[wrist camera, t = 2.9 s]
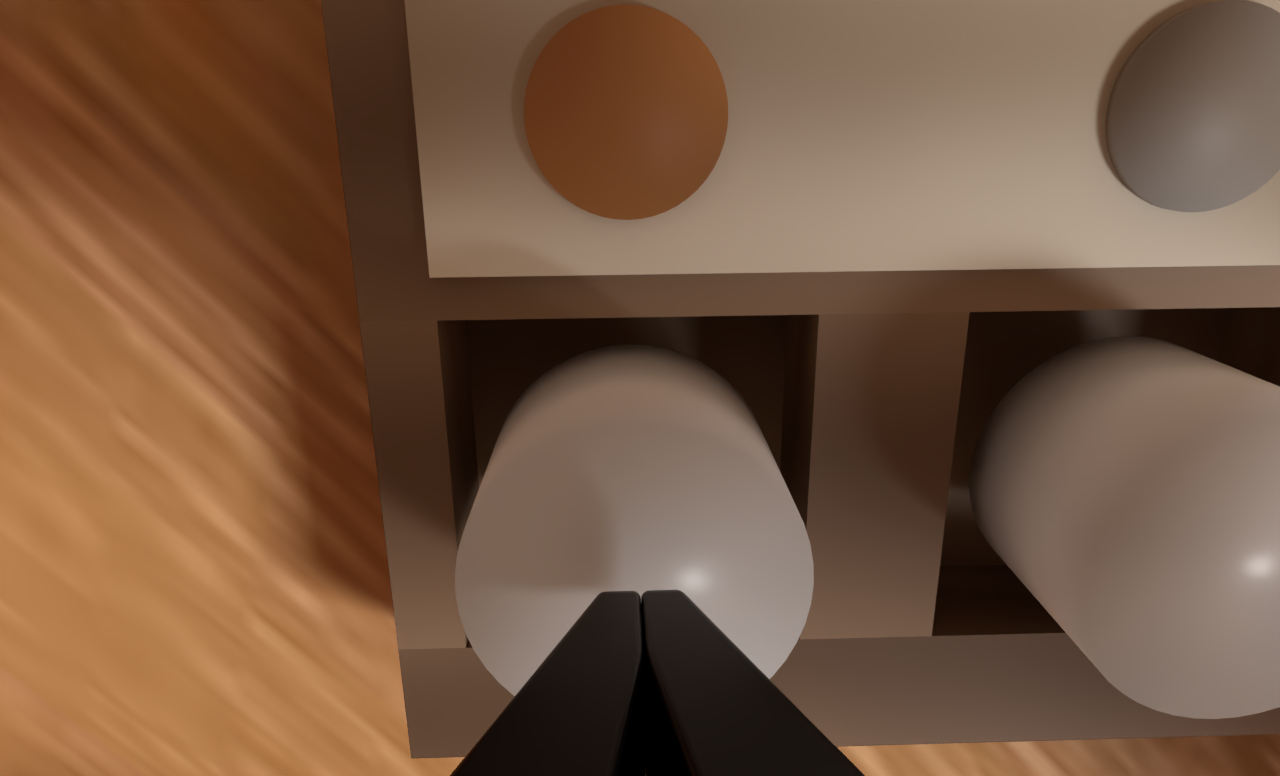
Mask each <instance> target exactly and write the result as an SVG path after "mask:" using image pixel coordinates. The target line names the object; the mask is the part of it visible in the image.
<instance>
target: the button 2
mask: <svg viewBox="0 0 1280 776" xmlns="http://www.w3.org/2000/svg"><path fill="white" fill-rule="evenodd" d="M813 586H814V563H813V557H812V551H811V545H810V541H809V538H808V534H807V531H806V528H805V525H804V522H803V520H802V518H801V516H800V514H799V511H798V509H797V507H796V505H795V503H794V501H793V498H792V496H791V494H790V492H789V490H788V488H787V485H786V483H785V481H784V479H783V477H782V475H781V472H780V470H779V468H778V466H777V464H776V462H775V459H774V457H773V455H772V453H771V451H770V449H769V446H768V444H767V442H766V440H765V438H764V436H763V433H762V431H761V429H760V427H759V425H758V423H757V421H756V419H755V417H754V415H753V413H752V410H751V409H750V407H749V406H748V405H747V403H746V402H745V400H744V399H743V397H742V396H741V395H740V394H739V392H738V391H737V390H736V389H735V388H734V387H733V386H732V385H731V384H730V383H729V382H728V381H727V380H726V379H725V378H723V377H722V376H721V375H720V374H719V373H717V372H716V371H715V370H713V369H711V368H710V367H708V366H707V365H705V364H704V363H702V362H700V361H698V360H696V359H694V358H692V357H689V356H687V355H685V354H682V353H679V352H676V351H673V350H669V349H666V348H660V347H655V346H649V345H631V344H628V345H615V346H607V347H603V348H598V349H593V350H590V351H587V352H584V353H581V354H578V355H575V356H573V357H571V358H569V359H567V360H565V361H563V362H561V363H559V364H557V365H556V366H554V367H553V368H551V369H550V370H548V371H547V372H545V373H544V374H542V375H541V376H540V377H539V378H538V379H537V380H535V381H534V382H533V383H532V384H531V385H530V386H529V387H528V388H527V389H526V390H525V391H524V393H523V394H522V395H521V396H520V397H519V398H518V400H517V401H516V403H515V404H514V406H513V407H512V409H511V410H510V412H509V414H508V415H507V417H506V420H505V422H504V424H503V426H502V428H501V431H500V433H499V436H498V439H497V441H496V444H495V447H494V450H493V452H492V455H491V458H490V460H489V463H488V466H487V469H486V471H485V474H484V477H483V479H482V482H481V485H480V488H479V490H478V493H477V496H476V498H475V501H474V504H473V507H472V509H471V512H470V515H469V517H468V520H467V523H466V526H465V528H464V531H463V535H462V538H461V541H460V545H459V548H458V553H457V560H456V568H455V594H456V600H457V606H458V612H459V615H460V618H461V621H462V625H463V628H464V631H465V633H466V635H467V637H468V639H469V641H470V643H471V645H472V648H473V650H474V651H475V653H476V654H477V656H478V657H479V659H480V660H481V662H482V663H483V665H484V666H485V668H486V669H487V670H488V671H489V672H490V673H491V674H492V675H493V677H494V678H495V679H496V680H497V681H498V682H499V683H500V684H501V685H502V686H503V687H504V688H505V689H507V690H508V691H509V692H510V693H511V694H512V695H514V696H516V694H517V693H518V692H519V691H520V689H521V688H522V687H523V686H524V685H525V683H526V682H527V681H528V680H529V678H530V677H531V676H532V675H533V674H534V672H535V671H536V670H537V669H538V667H539V666H540V665H541V664H542V663H543V661H544V660H545V659H546V658H547V656H548V655H549V654H550V653H551V652H552V650H553V649H554V648H555V647H556V645H557V644H558V643H559V642H560V641H561V639H562V638H563V637H564V636H565V634H566V633H567V632H568V631H569V630H570V628H571V627H572V626H573V625H574V623H575V622H576V621H577V620H578V619H579V617H580V616H581V615H582V614H583V612H584V611H585V610H586V609H587V608H588V606H589V605H590V604H591V603H592V601H593V600H594V599H595V598H596V597H597V595H598V594H600V593H601V592H604V591H636V592H637V593H639V595H640V597H641V596H642V594H643V593H644V592H646V591H648V590H680V591H682V592H684V593H685V594H686V595H687V596H688V597H689V598H690V599H691V600H692V601H693V602H694V603H695V604H696V605H697V606H698V607H699V608H700V609H701V611H702V612H703V613H704V614H705V615H706V616H707V617H708V618H709V619H710V620H711V621H712V622H713V623H714V624H715V625H716V626H717V627H718V628H719V629H720V630H721V631H722V632H723V633H724V634H725V635H726V636H727V637H728V638H729V639H730V640H731V641H732V642H733V643H734V644H735V645H736V646H737V647H738V648H739V649H740V650H741V651H742V652H743V653H744V654H745V655H746V656H747V657H748V658H749V659H750V660H751V661H752V662H753V663H754V664H755V665H756V666H757V667H758V668H759V669H760V670H761V671H762V672H763V673H764V674H765V675H766V676H767V677H768V678H769V679H770V678H771V677H772V676H773V675H774V674H775V673H776V672H777V670H778V669H779V668H780V667H781V666H782V664H783V663H784V662H785V661H786V659H787V658H788V656H789V654H790V653H791V651H792V650H793V648H794V646H795V645H796V643H797V641H798V639H799V637H800V635H801V632H802V630H803V628H804V626H805V623H806V620H807V616H808V613H809V609H810V606H811V600H812V593H813Z"/></svg>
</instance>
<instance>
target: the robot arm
mask: <svg viewBox="0 0 1280 776" xmlns="http://www.w3.org/2000/svg"><path fill="white" fill-rule="evenodd" d="M450 776H864V774H863V773H862V772H861V771H860V770H859V769H858V768H857V767H856V766H855V765H854V764H853V763H852V762H851V761H850V760H849V759H848V758H847V757H846V756H845V755H844V754H843V753H842V752H841V751H840V750H839V749H838V748H837V747H836V746H835V745H834V744H833V743H832V742H831V741H830V740H829V739H828V738H827V737H826V736H825V735H824V734H823V733H822V732H821V731H820V730H819V729H818V728H817V727H816V726H815V725H814V724H813V723H812V722H811V721H810V720H809V719H808V718H807V717H806V716H805V715H804V714H803V713H802V712H801V711H800V710H799V709H798V708H797V707H796V706H795V705H794V704H793V703H792V702H791V701H790V700H789V699H788V698H787V697H786V696H785V695H784V693H783V692H782V691H781V690H780V689H779V688H778V687H777V686H776V685H775V684H774V683H773V682H772V681H771V680H770V679H769V678H768V677H767V676H766V675H765V674H764V673H763V672H762V671H761V670H760V669H759V668H758V667H757V666H756V665H755V664H754V663H753V662H752V661H751V660H750V659H749V658H748V657H747V656H746V655H745V654H744V653H743V652H742V651H741V650H740V649H739V648H738V647H737V646H736V645H735V644H734V643H733V642H732V641H731V640H730V639H729V638H728V637H727V636H726V635H725V634H724V633H723V632H722V631H721V630H720V629H719V628H718V627H717V626H716V625H715V624H714V623H713V622H712V621H711V620H710V619H709V618H708V617H707V616H706V615H705V614H704V613H703V612H702V611H701V609H700V608H699V607H698V606H697V605H696V604H695V603H694V602H693V601H692V600H691V599H690V598H689V597H688V596H687V595H686V594H685V593H684V592H682V591H680V590H648V591H646V592H644V593H643V594H642V596H641V597H640V595H639V593H637V592H636V591H604V592H601V593H600V594H598V595H597V597H596V598H595V599H594V600H593V601H592V603H591V604H590V605H589V606H588V608H587V609H586V610H585V611H584V612H583V614H582V615H581V616H580V617H579V619H578V620H577V621H576V622H575V623H574V625H573V626H572V627H571V628H570V630H569V631H568V632H567V633H566V634H565V636H564V637H563V638H562V639H561V641H560V642H559V643H558V644H557V645H556V647H555V648H554V649H553V650H552V652H551V653H550V654H549V655H548V656H547V658H546V659H545V660H544V661H543V663H542V664H541V665H540V666H539V667H538V669H537V670H536V671H535V672H534V674H533V675H532V676H531V677H530V678H529V680H528V681H527V682H526V683H525V685H524V686H523V687H522V688H521V689H520V691H519V692H518V693H517V694H516V696H515V697H514V698H513V699H512V700H511V702H510V703H509V704H508V705H507V707H506V708H505V709H504V710H503V711H502V713H501V714H500V715H499V716H498V718H497V719H496V720H495V721H494V722H493V724H492V725H491V726H490V727H489V728H488V730H487V731H486V732H485V733H484V735H483V736H482V737H481V738H480V739H479V741H478V742H477V743H476V744H475V746H474V747H473V748H472V749H471V750H470V752H469V753H468V754H467V755H466V757H465V758H464V759H463V760H462V761H461V763H460V764H459V765H458V766H457V768H456V769H455V770H454V771H453V772H452V774H451V775H450Z"/></svg>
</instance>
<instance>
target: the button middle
mask: <svg viewBox="0 0 1280 776" xmlns="http://www.w3.org/2000/svg"><path fill="white" fill-rule="evenodd" d="M969 489H970V500H971V505H972V509H973V513H974V517H975V519H976V522H977V524H978V527H979V529H980V531H981V533H982V534H983V536H984V538H985V539H986V541H987V542H988V544H989V545H990V546H991V547H992V548H993V550H994V551H995V552H996V553H997V554H998V555H999V557H1000V558H1001V559H1002V560H1003V561H1004V562H1005V563H1006V565H1007V566H1008V567H1009V568H1010V569H1011V570H1012V571H1013V573H1014V574H1015V575H1016V576H1017V577H1018V578H1019V579H1020V581H1021V582H1022V583H1023V584H1024V585H1025V586H1026V588H1027V589H1028V590H1029V591H1030V592H1031V593H1032V594H1033V596H1034V597H1035V598H1036V599H1037V600H1038V601H1039V602H1040V604H1041V605H1042V606H1043V607H1044V608H1045V609H1046V611H1047V612H1048V613H1049V614H1050V615H1051V616H1052V617H1053V619H1054V620H1055V621H1056V622H1057V623H1058V624H1059V625H1060V627H1061V628H1062V629H1063V630H1064V631H1065V632H1066V633H1067V635H1068V636H1069V637H1070V638H1071V639H1072V640H1073V642H1074V643H1075V644H1076V645H1077V646H1078V647H1079V648H1080V650H1081V651H1082V652H1083V653H1084V654H1085V655H1086V656H1087V658H1088V659H1089V660H1090V661H1091V662H1092V663H1093V665H1094V666H1095V667H1096V668H1097V669H1098V670H1099V671H1100V673H1101V674H1102V675H1103V676H1104V677H1105V678H1106V679H1107V681H1108V682H1109V683H1111V684H1112V685H1113V686H1114V687H1115V688H1117V689H1118V690H1119V691H1120V692H1121V693H1123V694H1124V695H1126V696H1128V697H1129V698H1131V699H1132V700H1134V701H1136V702H1137V703H1139V704H1142V705H1144V706H1147V707H1149V708H1151V709H1154V710H1156V711H1160V712H1163V713H1167V714H1171V715H1174V716H1181V717H1188V718H1195V719H1222V718H1235V717H1241V716H1247V715H1252V714H1257V713H1261V712H1265V711H1268V710H1272V709H1275V708H1279V707H1280V387H1279V386H1277V385H1274V384H1272V383H1270V382H1267V381H1265V380H1262V379H1260V378H1257V377H1255V376H1252V375H1250V374H1247V373H1245V372H1243V371H1240V370H1238V369H1235V368H1233V367H1230V366H1228V365H1225V364H1223V363H1220V362H1218V361H1216V360H1213V359H1211V358H1208V357H1206V356H1203V355H1201V354H1198V353H1196V352H1193V351H1191V350H1189V349H1186V348H1184V347H1181V346H1179V345H1176V344H1173V343H1170V342H1167V341H1164V340H1159V339H1154V338H1149V337H1136V336H1122V337H1110V338H1104V339H1100V340H1095V341H1090V342H1087V343H1084V344H1081V345H1078V346H1075V347H1072V348H1070V349H1068V350H1066V351H1063V352H1061V353H1059V354H1057V355H1055V356H1053V357H1051V358H1050V359H1048V360H1046V361H1045V362H1043V363H1041V364H1040V365H1038V366H1037V367H1035V368H1034V369H1033V370H1032V371H1030V372H1029V373H1028V374H1026V375H1025V376H1024V377H1023V378H1021V379H1020V380H1019V381H1018V382H1017V383H1016V384H1015V385H1014V386H1013V387H1012V388H1011V389H1010V390H1009V391H1008V392H1007V393H1006V395H1005V396H1004V397H1003V398H1002V400H1001V401H1000V402H999V403H998V404H997V406H996V407H995V409H994V410H993V412H992V413H991V415H990V416H989V418H988V420H987V421H986V423H985V425H984V427H983V429H982V432H981V434H980V436H979V438H978V441H977V444H976V447H975V450H974V453H973V457H972V463H971V468H970V480H969Z"/></svg>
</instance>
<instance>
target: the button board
mask: <svg viewBox="0 0 1280 776" xmlns="http://www.w3.org/2000/svg"><path fill="white" fill-rule="evenodd" d="M321 2H322V11H323V19H324V28H325V36H326V44H327V53H328V61H329V70H330V78H331V87H332V95H333V103H334V112H335V120H336V129H337V137H338V145H339V154H340V162H341V171H342V179H343V187H344V196H345V204H346V213H347V221H348V230H349V238H350V246H351V255H352V263H353V272H354V280H355V288H356V297H357V305H358V314H359V322H360V330H361V339H362V347H363V356H364V364H365V372H366V381H367V389H368V398H369V406H370V415H371V423H372V431H373V440H374V448H375V457H376V465H377V473H378V482H379V490H380V499H381V507H382V515H383V524H384V532H385V541H386V549H387V558H388V566H389V574H390V583H391V591H392V600H393V608H394V616H395V625H396V633H397V642H398V650H399V658H400V667H401V675H402V684H403V692H404V700H405V709H406V717H407V726H408V734H409V743H410V751H411V758H443V757H466V755H467V754H468V753H469V752H470V750H471V749H472V748H473V747H474V746H475V744H476V743H477V742H478V741H479V739H480V738H481V737H482V736H483V735H484V733H485V732H486V731H487V730H488V728H489V727H490V726H491V725H492V724H493V722H494V721H495V720H496V719H497V718H498V716H499V715H500V714H501V713H502V711H503V710H504V709H505V708H506V707H507V705H508V704H509V703H510V702H511V700H512V699H513V698H514V697H515V696H514V695H512V694H511V693H510V692H509V691H508V690H507V689H505V688H504V687H503V686H502V685H501V684H500V683H499V682H498V681H497V680H496V679H495V678H494V677H493V675H492V674H491V673H490V672H489V671H488V670H487V669H486V668H485V666H484V665H483V663H482V662H481V660H480V659H479V657H478V656H477V654H476V653H475V651H474V650H473V648H472V645H471V643H470V641H469V639H468V637H467V635H466V633H465V631H464V628H463V625H462V621H461V618H460V615H459V612H458V606H457V600H456V594H455V568H456V560H457V553H458V548H459V545H460V541H461V538H462V535H463V531H464V528H465V526H466V523H467V520H468V517H469V515H470V512H471V509H472V507H473V504H474V501H475V498H476V496H477V493H478V490H479V488H480V485H481V482H482V479H483V477H484V474H485V471H486V469H487V466H488V463H489V460H490V458H491V455H492V452H493V450H494V447H495V444H496V441H497V439H498V436H499V433H500V431H501V428H502V426H503V424H504V422H505V420H506V417H507V415H508V414H509V412H510V410H511V409H512V407H513V406H514V404H515V403H516V401H517V400H518V398H519V397H520V396H521V395H522V394H523V393H524V391H525V390H526V389H527V388H528V387H529V386H530V385H531V384H532V383H533V382H534V381H535V380H537V379H538V378H539V377H540V376H541V375H542V374H544V373H545V372H547V371H548V370H550V369H551V368H553V367H554V366H556V365H557V364H559V363H561V362H563V361H565V360H567V359H569V358H571V357H573V356H575V355H578V354H581V353H584V352H587V351H590V350H593V349H598V348H603V347H607V346H615V345H628V344H631V345H649V346H655V347H660V348H666V349H669V350H673V351H676V352H679V353H682V354H685V355H687V356H689V357H692V358H694V359H696V360H698V361H700V362H702V363H704V364H705V365H707V366H708V367H710V368H711V369H713V370H715V371H716V372H717V373H719V374H720V375H721V376H722V377H723V378H725V379H726V380H727V381H728V382H729V383H730V384H731V385H732V386H733V387H734V388H735V389H736V390H737V391H738V392H739V394H740V395H741V396H742V397H743V399H744V400H745V402H746V403H747V405H748V406H749V407H750V409H751V410H752V413H753V415H754V417H755V419H756V421H757V423H758V425H759V427H760V429H761V431H762V433H763V436H764V438H765V440H766V442H767V444H768V446H769V449H770V451H771V453H772V455H773V457H774V459H775V462H776V464H777V466H778V468H779V470H780V472H781V475H782V477H783V479H784V481H785V483H786V485H787V488H788V490H789V492H790V494H791V496H792V498H793V501H794V503H795V505H796V507H797V509H798V511H799V514H800V516H801V518H802V520H803V522H804V525H805V528H806V531H807V534H808V538H809V541H810V545H811V551H812V557H813V563H814V586H813V593H812V600H811V606H810V609H809V613H808V616H807V620H806V623H805V626H804V628H803V630H802V632H801V635H800V637H799V639H798V641H797V643H796V645H795V646H794V648H793V650H792V651H791V653H790V654H789V656H788V658H787V659H786V661H785V662H784V663H783V664H782V666H781V667H780V668H779V669H778V670H777V672H776V673H775V674H774V675H773V676H772V677H771V678H770V680H771V681H772V682H773V683H774V684H775V685H776V686H777V687H778V688H779V689H780V690H781V691H782V692H783V693H784V695H785V696H786V697H787V698H788V699H789V700H790V701H791V702H792V703H793V704H794V705H795V706H796V707H797V708H798V709H799V710H800V711H801V712H802V713H803V714H804V715H805V716H806V717H807V718H808V719H809V720H810V721H811V722H812V723H813V724H814V725H815V726H816V727H817V728H818V729H819V730H820V731H821V732H822V733H823V734H824V735H825V736H826V737H827V738H828V739H829V740H830V741H831V742H832V743H833V744H834V745H835V746H836V747H837V746H873V745H908V744H944V743H980V742H1016V741H1051V740H1087V739H1123V738H1159V737H1194V736H1230V735H1266V734H1280V707H1279V708H1275V709H1272V710H1268V711H1265V712H1261V713H1257V714H1252V715H1247V716H1241V717H1235V718H1222V719H1195V718H1188V717H1181V716H1174V715H1171V714H1167V713H1163V712H1160V711H1156V710H1154V709H1151V708H1149V707H1147V706H1144V705H1142V704H1139V703H1137V702H1136V701H1134V700H1132V699H1131V698H1129V697H1128V696H1126V695H1124V694H1123V693H1121V692H1120V691H1119V690H1118V689H1117V688H1115V687H1114V686H1113V685H1112V684H1111V683H1109V682H1108V681H1107V679H1106V678H1105V677H1104V676H1103V675H1102V674H1101V673H1100V671H1099V670H1098V669H1097V668H1096V667H1095V666H1094V665H1093V663H1092V662H1091V661H1090V660H1089V659H1088V658H1087V656H1086V655H1085V654H1084V653H1083V652H1082V651H1081V650H1080V648H1079V647H1078V646H1077V645H1076V644H1075V643H1074V642H1073V640H1072V639H1071V638H1070V637H1069V636H1068V635H1067V633H1066V632H1065V631H1064V630H1063V629H1062V628H1061V627H1060V625H1059V624H1058V623H1057V622H1056V621H1055V620H1054V619H1053V617H1052V616H1051V615H1050V614H1049V613H1048V612H1047V611H1046V609H1045V608H1044V607H1043V606H1042V605H1041V604H1040V602H1039V601H1038V600H1037V599H1036V598H1035V597H1034V596H1033V594H1032V593H1031V592H1030V591H1029V590H1028V589H1027V588H1026V586H1025V585H1024V584H1023V583H1022V582H1021V581H1020V579H1019V578H1018V577H1017V576H1016V575H1015V574H1014V573H1013V571H1012V570H1011V569H1010V568H1009V567H1008V566H1007V565H1006V563H1005V562H1004V561H1003V560H1002V559H1001V558H1000V557H999V555H998V554H997V553H996V552H995V551H994V550H993V548H992V547H991V546H990V545H989V544H988V542H987V541H986V539H985V538H984V536H983V534H982V533H981V531H980V529H979V527H978V524H977V522H976V519H975V517H974V513H973V509H972V505H971V500H970V489H969V480H970V468H971V463H972V457H973V453H974V450H975V447H976V444H977V441H978V438H979V436H980V434H981V432H982V429H983V427H984V425H985V423H986V421H987V420H988V418H989V416H990V415H991V413H992V412H993V410H994V409H995V407H996V406H997V404H998V403H999V402H1000V401H1001V400H1002V398H1003V397H1004V396H1005V395H1006V393H1007V392H1008V391H1009V390H1010V389H1011V388H1012V387H1013V386H1014V385H1015V384H1016V383H1017V382H1018V381H1019V380H1020V379H1021V378H1023V377H1024V376H1025V375H1026V374H1028V373H1029V372H1030V371H1032V370H1033V369H1034V368H1035V367H1037V366H1038V365H1040V364H1041V363H1043V362H1045V361H1046V360H1048V359H1050V358H1051V357H1053V356H1055V355H1057V354H1059V353H1061V352H1063V351H1066V350H1068V349H1070V348H1072V347H1075V346H1078V345H1081V344H1084V343H1087V342H1090V341H1095V340H1100V339H1104V338H1110V337H1122V336H1136V337H1149V338H1154V339H1159V340H1164V341H1167V342H1170V343H1173V344H1176V345H1179V346H1181V347H1184V348H1186V349H1189V350H1191V351H1193V352H1196V353H1198V354H1201V355H1203V356H1206V357H1208V358H1211V359H1213V360H1216V361H1218V362H1220V363H1223V364H1225V365H1228V366H1230V367H1233V368H1235V369H1238V370H1240V371H1243V372H1245V373H1247V374H1250V375H1252V376H1255V377H1257V378H1260V379H1262V380H1265V381H1267V382H1270V383H1272V384H1274V385H1277V386H1279V387H1280V0H321Z"/></svg>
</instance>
